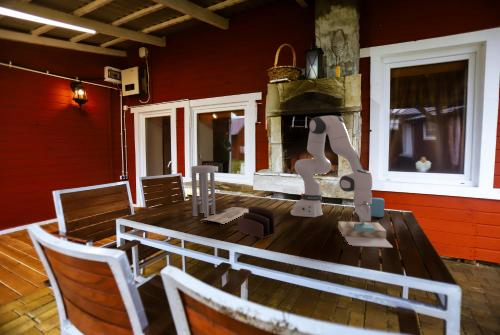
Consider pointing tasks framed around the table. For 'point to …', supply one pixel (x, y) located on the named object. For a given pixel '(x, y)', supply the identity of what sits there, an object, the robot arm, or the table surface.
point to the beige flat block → (350, 231)
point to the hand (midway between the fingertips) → (362, 224)
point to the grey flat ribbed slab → (227, 215)
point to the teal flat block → (364, 227)
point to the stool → (203, 189)
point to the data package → (377, 207)
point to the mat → (368, 242)
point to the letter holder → (257, 222)
